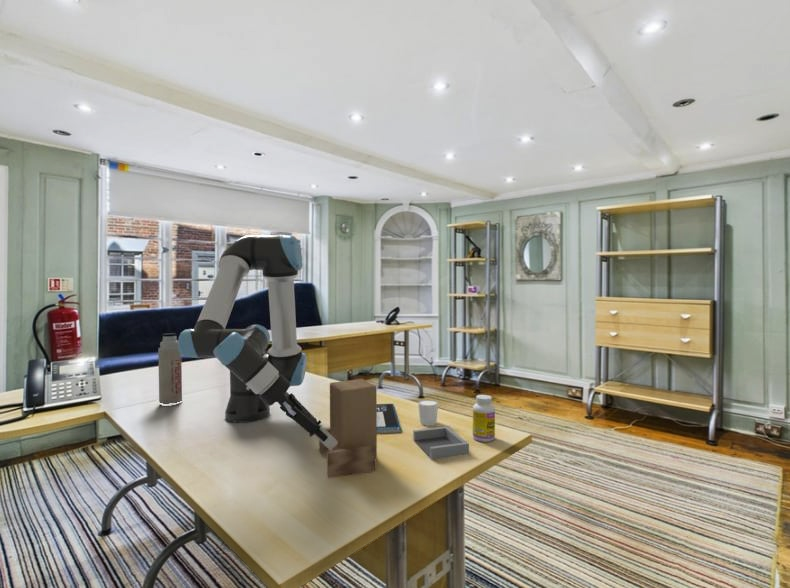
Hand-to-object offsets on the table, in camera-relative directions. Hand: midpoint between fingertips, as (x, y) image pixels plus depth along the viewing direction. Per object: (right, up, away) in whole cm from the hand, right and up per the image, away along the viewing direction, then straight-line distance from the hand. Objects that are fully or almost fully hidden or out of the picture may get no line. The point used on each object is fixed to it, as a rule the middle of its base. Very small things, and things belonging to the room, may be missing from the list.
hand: (334, 445), depth 106 cm
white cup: (+27, -5, +32) cm, 43 cm away
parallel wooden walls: (+3, -5, +4) cm, 7 cm away
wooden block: (+4, -5, +5) cm, 9 cm away
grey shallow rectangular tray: (+28, -5, +12) cm, 31 cm away
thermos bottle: (-73, -4, +56) cm, 92 cm away
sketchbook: (+6, -5, +37) cm, 38 cm away
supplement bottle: (+43, -5, +18) cm, 47 cm away
